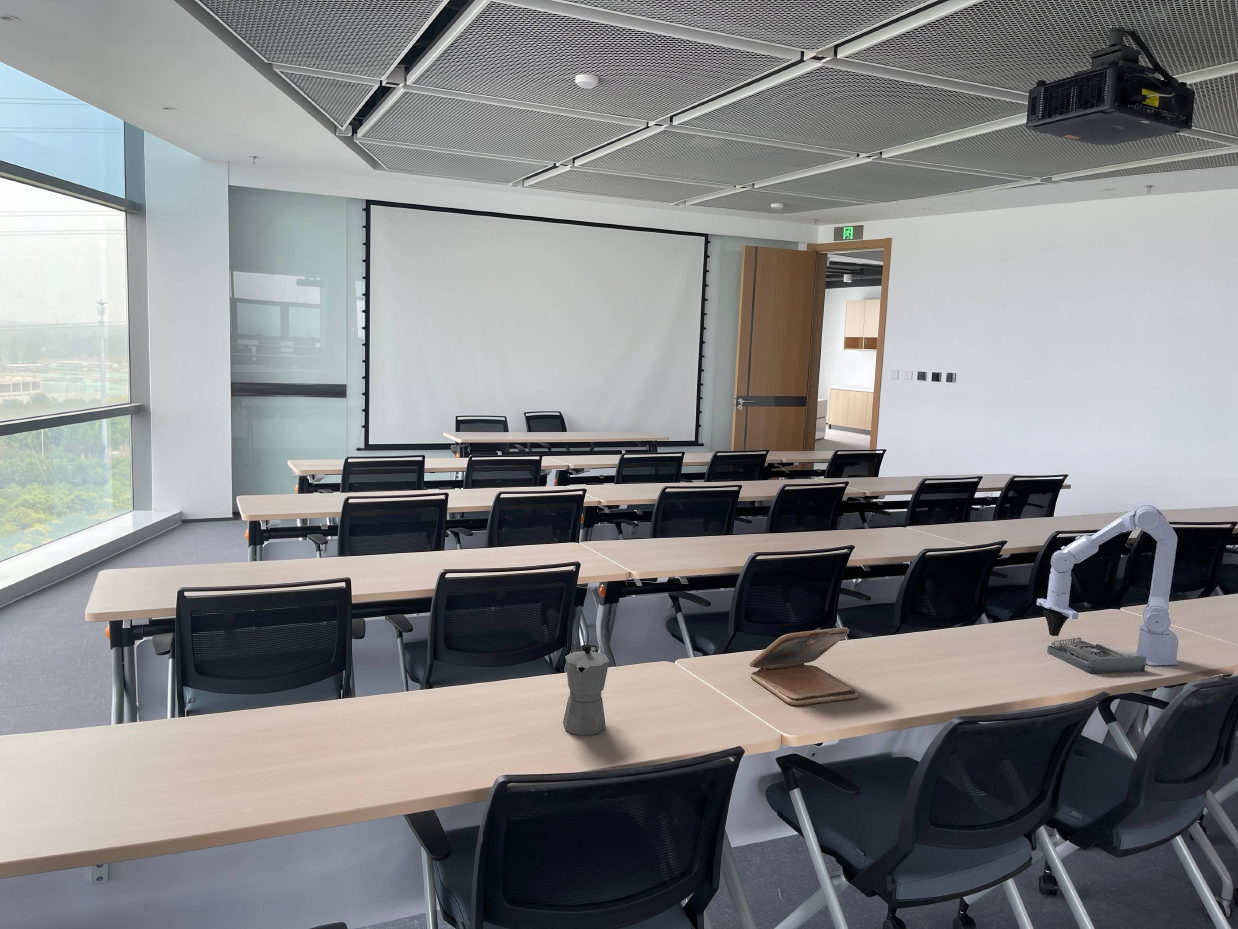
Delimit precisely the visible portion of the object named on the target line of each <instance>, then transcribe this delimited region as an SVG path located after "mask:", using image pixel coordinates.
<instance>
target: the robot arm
mask: <svg viewBox="0 0 1238 929" xmlns="http://www.w3.org/2000/svg"><path fill="white" fill-rule="evenodd" d="M1137 528H1139V529H1140V530H1142V531H1143V532H1145V533H1147V534H1149V535H1150V536H1151V537H1152V538H1153V539H1154V540H1155V541H1156V549H1155V556H1154V563H1153V571H1152V579H1151V585H1150V591H1149V592H1150V593H1149V596H1148V602H1147V604H1146V605H1145V607H1144V609H1143V611H1142V617H1143V623H1142V624H1141V625H1139V632H1138V639H1137V648H1136V653H1129V654H1128V656H1144V657H1146V665H1149V666H1150V667H1151V666H1155V667H1156V666H1177V665H1179V662H1177V659H1178V658H1177V657H1178V649H1179V638H1178V635H1177V634H1176V633H1175V632H1174V631H1172V630H1170V627H1171V624H1172V623H1171V619H1170V613H1169V607H1170V606H1169V605H1170V603H1169V602H1170V594H1171V588H1172V580H1173V573H1174V567H1175V560H1176V552H1177V545H1178V536H1177V533H1176V531H1175V530H1174V528H1173V527H1172V525H1171V524H1170V522H1169V521H1168V519H1167V517H1166V516H1165V514H1164V513H1163V512H1162V511H1160V510H1159V509H1158V508H1156V507H1155V506H1153V505H1151V504H1143V505H1140V506H1139V507H1136V509H1132V510H1130V511H1128V512H1126V513H1125V514H1122V515H1121V516H1119V517H1118V518H1116V519H1115V520H1113V521H1112V522H1111V523H1109V524H1107V525H1105V527H1103V528H1101V529H1100V530H1098V531H1097V532H1096V533H1094V534H1093V535H1088V534H1087V535H1086V534H1085V535H1082V536H1080V535H1078V536H1076V537H1075V540H1074V541H1072V542H1071V543H1069V544H1068V545H1066V546H1065V545H1063V546H1061V547H1060V549H1061V550H1056V551H1055V552H1054V553H1053V554H1052V555H1051V559H1050V566H1051V568H1050V573H1049V577H1048V578H1049V579H1048V588H1047V595H1046V596H1047V597H1046V598H1036V599H1037V600H1036V605H1037V606H1039V607H1040V606H1041V607H1044V608H1046V610H1043V612H1042V613H1043V615H1044V617H1045V620H1046V623H1047V627H1048V634H1049V636H1052V637H1059V635H1060V633H1061V630H1062V628H1063V626H1064V625H1065V623H1066V622H1067V620H1068V619H1070V620H1078V618H1079V612H1077V611H1075V610H1074V609H1073V608H1071V607H1070V606H1069V603H1070V592H1071V585H1072V576H1071V574H1072V569H1073V568H1074V565H1075V564H1080V563H1081V562H1084V560H1086V559H1088V558H1089V557H1091V556H1092V555H1094V554H1096V553H1097V552H1099V546H1100V545H1102V544H1103V543H1105V542H1107V541H1109V540H1110V539H1112V538H1114V537H1116V536H1117V535H1120V534H1122V533H1123V532H1124V531H1132V532H1133V531H1137Z"/></svg>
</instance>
